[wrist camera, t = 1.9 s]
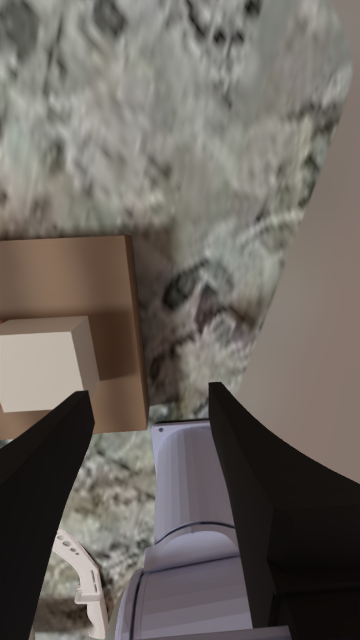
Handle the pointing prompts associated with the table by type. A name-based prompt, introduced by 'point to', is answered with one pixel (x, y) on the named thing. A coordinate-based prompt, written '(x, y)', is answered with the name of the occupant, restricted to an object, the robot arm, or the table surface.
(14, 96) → the table surface
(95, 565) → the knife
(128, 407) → the brown wooden board
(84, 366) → the cream tile
